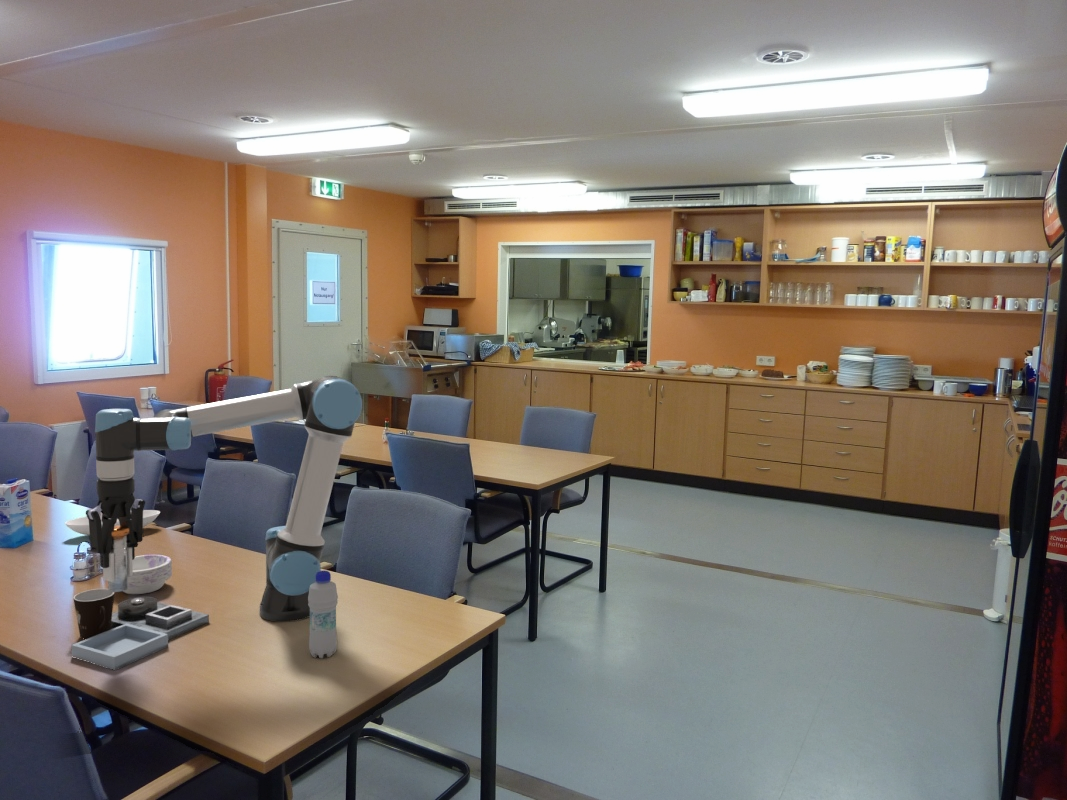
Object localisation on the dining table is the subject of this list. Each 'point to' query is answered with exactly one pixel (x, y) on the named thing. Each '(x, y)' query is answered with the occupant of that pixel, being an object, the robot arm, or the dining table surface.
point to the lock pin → (119, 559)
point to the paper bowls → (149, 573)
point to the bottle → (322, 615)
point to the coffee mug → (94, 611)
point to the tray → (120, 646)
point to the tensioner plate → (157, 616)
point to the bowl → (83, 523)
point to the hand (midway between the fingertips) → (118, 577)
